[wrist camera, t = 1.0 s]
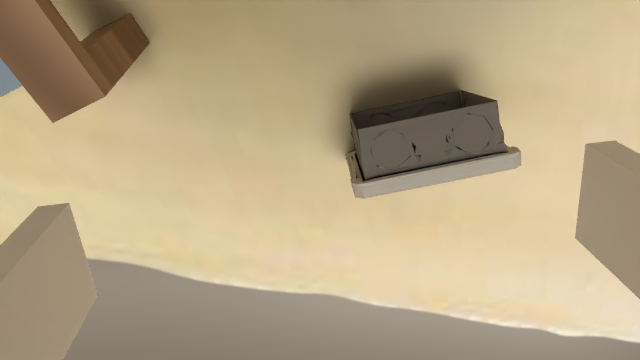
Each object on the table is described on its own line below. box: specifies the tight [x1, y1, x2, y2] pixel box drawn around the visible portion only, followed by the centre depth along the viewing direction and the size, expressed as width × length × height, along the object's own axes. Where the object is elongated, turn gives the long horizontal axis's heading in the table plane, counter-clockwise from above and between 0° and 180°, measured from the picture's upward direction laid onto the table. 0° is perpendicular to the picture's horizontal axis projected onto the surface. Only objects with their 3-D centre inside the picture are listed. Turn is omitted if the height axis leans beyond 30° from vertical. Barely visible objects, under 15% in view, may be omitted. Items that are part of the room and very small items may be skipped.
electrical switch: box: [345, 90, 521, 198], centre depth 32 cm, size 9×5×9 cm, turn 101°
